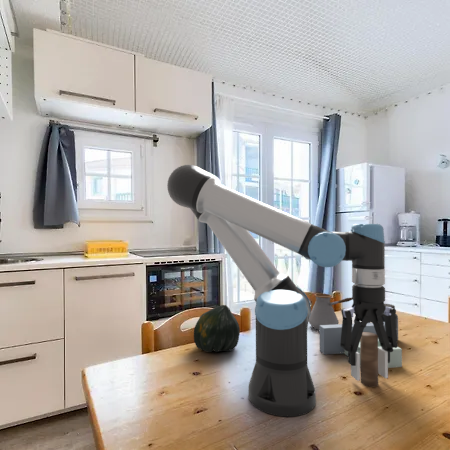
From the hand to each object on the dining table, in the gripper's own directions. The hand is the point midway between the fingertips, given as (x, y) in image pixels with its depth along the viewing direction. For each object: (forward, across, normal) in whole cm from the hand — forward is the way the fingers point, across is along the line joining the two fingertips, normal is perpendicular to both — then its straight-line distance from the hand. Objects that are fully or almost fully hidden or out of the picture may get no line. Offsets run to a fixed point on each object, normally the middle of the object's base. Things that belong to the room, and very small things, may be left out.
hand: (369, 376), depth 76 cm
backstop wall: (+2, +9, +20) cm, 22 cm away
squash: (+2, -35, +28) cm, 45 cm away
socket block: (+2, +9, +12) cm, 15 cm away
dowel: (+2, 0, 0) cm, 2 cm away
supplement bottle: (+2, +25, +27) cm, 37 cm away
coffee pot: (+2, +11, +38) cm, 40 cm away
